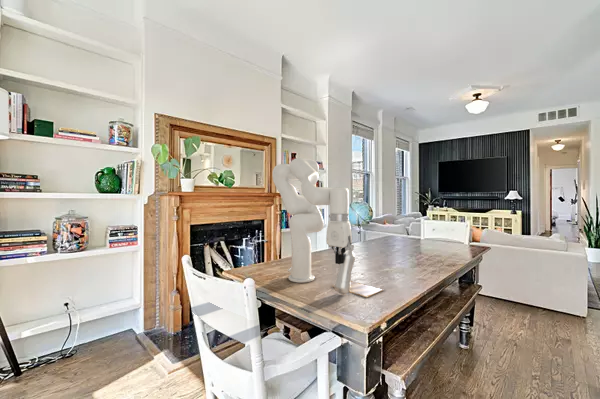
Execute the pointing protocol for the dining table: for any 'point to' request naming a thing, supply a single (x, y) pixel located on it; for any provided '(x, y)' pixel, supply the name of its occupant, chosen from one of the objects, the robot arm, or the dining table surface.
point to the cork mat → (363, 289)
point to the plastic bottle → (345, 272)
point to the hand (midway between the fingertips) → (339, 263)
